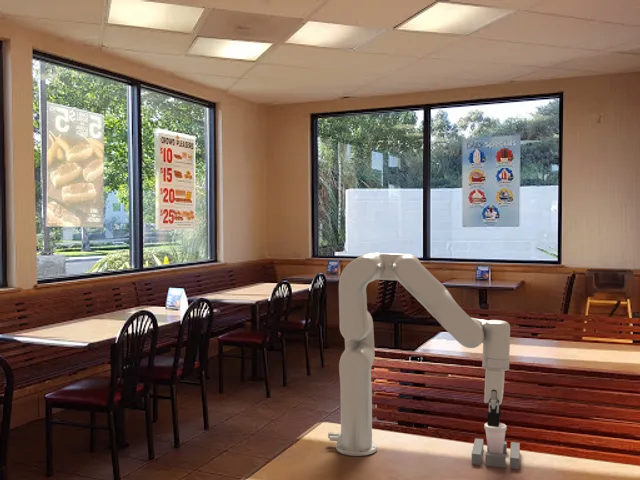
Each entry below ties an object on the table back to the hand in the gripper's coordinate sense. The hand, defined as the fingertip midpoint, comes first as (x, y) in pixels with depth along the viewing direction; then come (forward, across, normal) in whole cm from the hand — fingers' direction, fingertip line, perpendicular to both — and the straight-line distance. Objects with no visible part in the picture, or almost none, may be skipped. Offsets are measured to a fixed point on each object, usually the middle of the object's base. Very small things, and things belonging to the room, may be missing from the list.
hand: (494, 420), depth 181 cm
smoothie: (+11, 0, +1) cm, 11 cm away
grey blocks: (+11, 0, +1) cm, 11 cm away
